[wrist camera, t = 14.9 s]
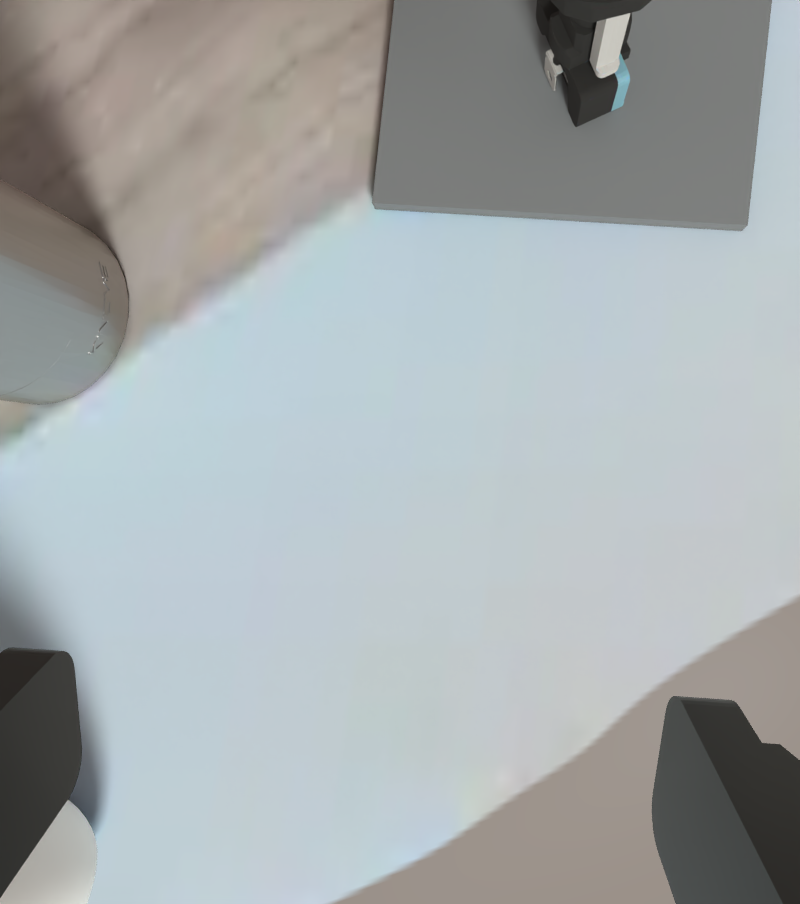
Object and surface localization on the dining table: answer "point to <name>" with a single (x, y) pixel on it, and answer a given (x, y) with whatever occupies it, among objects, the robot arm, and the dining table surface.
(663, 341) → the dining table surface
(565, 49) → the push button
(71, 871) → the sauce bottle
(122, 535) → the dining table surface
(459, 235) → the dining table surface
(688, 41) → the rubber mat
